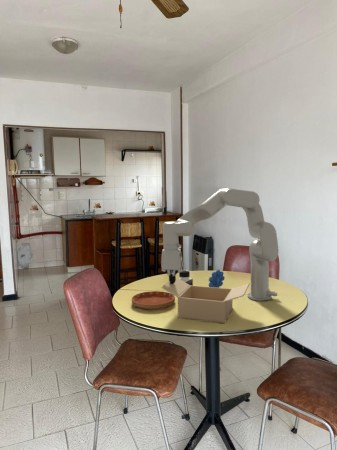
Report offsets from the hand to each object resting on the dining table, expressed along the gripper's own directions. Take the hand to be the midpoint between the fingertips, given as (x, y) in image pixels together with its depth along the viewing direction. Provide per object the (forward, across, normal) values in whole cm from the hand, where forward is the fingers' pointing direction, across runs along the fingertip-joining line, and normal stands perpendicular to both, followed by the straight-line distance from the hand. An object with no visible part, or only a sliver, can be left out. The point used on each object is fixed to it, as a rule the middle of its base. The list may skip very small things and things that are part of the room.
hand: (172, 283), depth 173 cm
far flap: (+1, -2, 0) cm, 3 cm away
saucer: (+14, +13, -5) cm, 20 cm away
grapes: (+14, -14, -38) cm, 43 cm away
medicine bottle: (+14, +4, -31) cm, 34 cm away
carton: (+14, -17, 0) cm, 22 cm away
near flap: (+2, -32, 0) cm, 32 cm away
